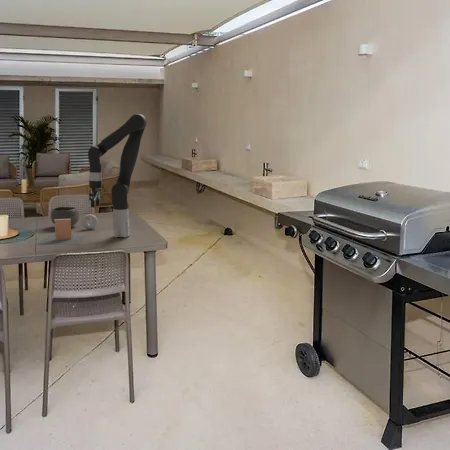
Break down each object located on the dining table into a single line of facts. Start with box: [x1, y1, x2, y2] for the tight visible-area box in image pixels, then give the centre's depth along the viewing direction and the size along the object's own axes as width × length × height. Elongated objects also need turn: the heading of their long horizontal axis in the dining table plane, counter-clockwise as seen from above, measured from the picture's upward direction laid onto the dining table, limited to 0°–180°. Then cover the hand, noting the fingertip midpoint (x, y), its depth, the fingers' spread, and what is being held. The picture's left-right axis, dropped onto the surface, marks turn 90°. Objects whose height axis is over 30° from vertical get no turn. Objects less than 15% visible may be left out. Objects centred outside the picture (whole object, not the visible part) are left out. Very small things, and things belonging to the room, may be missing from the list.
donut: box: [81, 213, 99, 230], centre depth 345 cm, size 10×4×10 cm, turn 103°
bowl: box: [50, 206, 80, 227], centre depth 352 cm, size 18×18×13 cm
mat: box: [36, 234, 89, 246], centre depth 314 cm, size 24×24×1 cm
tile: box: [54, 219, 72, 240], centre depth 314 cm, size 2×9×12 cm, turn 110°
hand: (95, 206), depth 322 cm, fingers open, 8 cm apart
